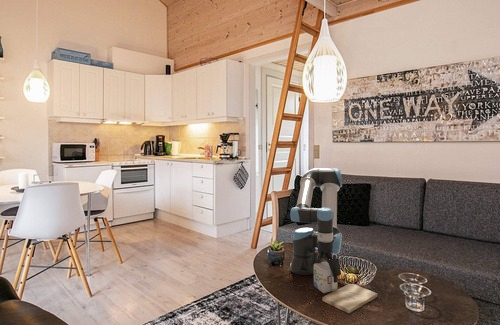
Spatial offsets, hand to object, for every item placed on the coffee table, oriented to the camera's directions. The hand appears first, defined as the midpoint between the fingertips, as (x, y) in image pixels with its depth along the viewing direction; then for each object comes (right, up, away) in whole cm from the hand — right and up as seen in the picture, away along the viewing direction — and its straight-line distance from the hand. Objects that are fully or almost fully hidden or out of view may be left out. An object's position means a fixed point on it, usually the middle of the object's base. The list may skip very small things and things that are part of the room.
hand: (325, 284), depth 153 cm
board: (+9, -2, -11) cm, 14 cm away
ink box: (0, -2, 0) cm, 2 cm away
